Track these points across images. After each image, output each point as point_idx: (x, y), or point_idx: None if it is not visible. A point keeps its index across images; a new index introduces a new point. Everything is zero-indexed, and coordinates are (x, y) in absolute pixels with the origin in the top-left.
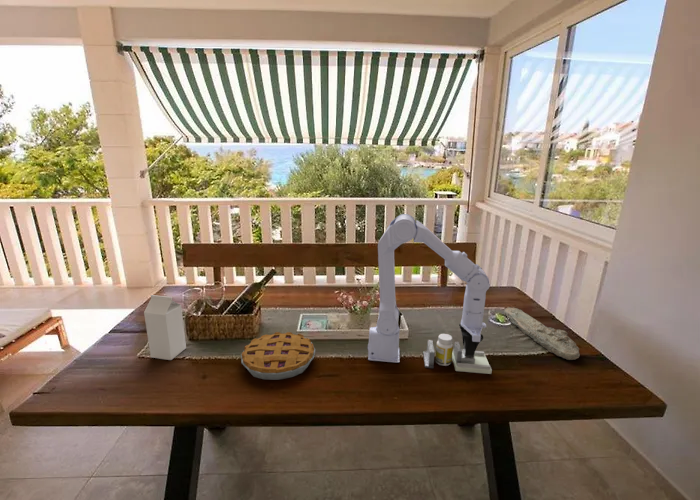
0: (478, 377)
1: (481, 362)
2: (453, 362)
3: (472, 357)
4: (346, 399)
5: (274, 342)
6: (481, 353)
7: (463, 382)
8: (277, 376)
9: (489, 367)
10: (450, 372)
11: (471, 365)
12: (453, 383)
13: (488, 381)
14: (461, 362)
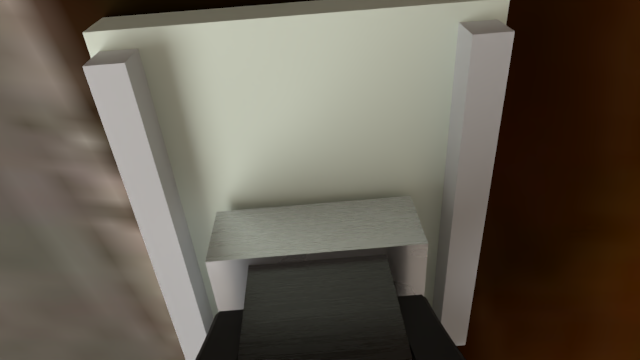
0: (549, 138)
1: (334, 106)
2: None
3: (399, 268)
4: None
5: None
6: (140, 99)
7: (612, 257)
8: None
9: (511, 44)
10: (473, 327)
11: (480, 244)
12: (614, 314)
13: (629, 46)
14: None
